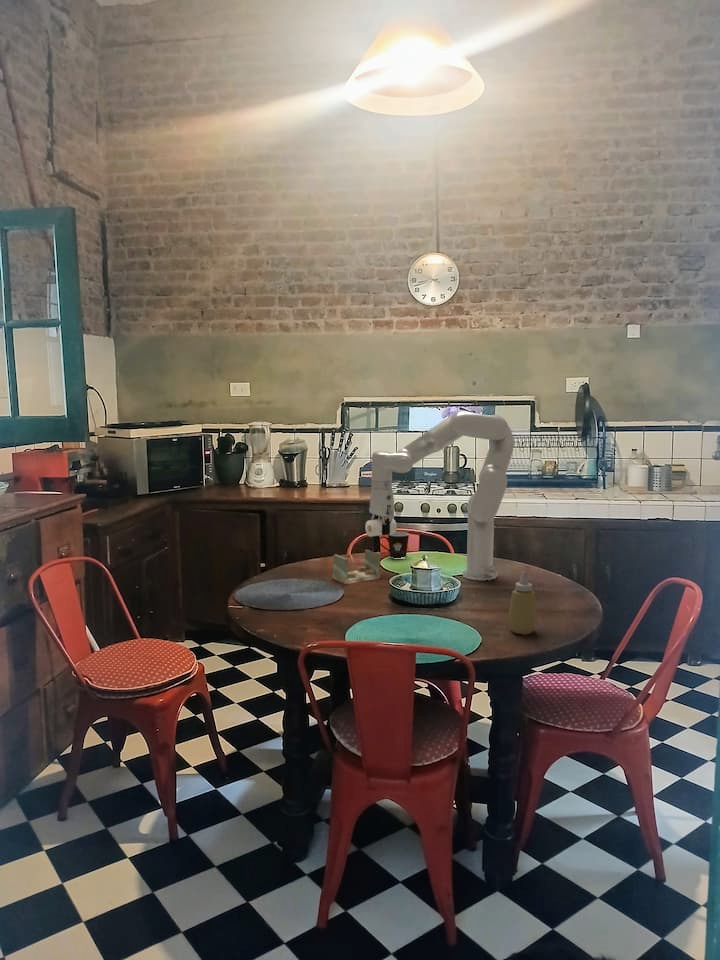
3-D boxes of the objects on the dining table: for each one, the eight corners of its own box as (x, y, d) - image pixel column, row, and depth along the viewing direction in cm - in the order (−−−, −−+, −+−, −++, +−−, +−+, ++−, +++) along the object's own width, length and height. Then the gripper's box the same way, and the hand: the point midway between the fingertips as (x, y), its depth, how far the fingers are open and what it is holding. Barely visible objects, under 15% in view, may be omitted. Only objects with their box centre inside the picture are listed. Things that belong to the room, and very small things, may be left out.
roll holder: (366, 572, 279) (367, 549, 278) (380, 578, 272) (380, 554, 271) (332, 578, 271) (332, 554, 270) (345, 584, 264) (345, 559, 263)
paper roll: (387, 532, 280) (387, 516, 280) (396, 534, 275) (396, 519, 275) (365, 535, 275) (365, 519, 274) (373, 537, 270) (374, 521, 269)
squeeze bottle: (532, 626, 221) (534, 568, 218) (539, 636, 213) (541, 575, 210) (505, 626, 221) (507, 568, 218) (511, 636, 213) (513, 575, 210)
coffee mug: (412, 557, 303) (412, 533, 302) (402, 561, 296) (402, 537, 294) (387, 553, 309) (388, 529, 308) (377, 557, 302) (377, 533, 301)
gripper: (403, 487, 267) (402, 536, 270) (377, 481, 282) (376, 527, 284) (386, 489, 263) (385, 538, 266) (360, 482, 278) (359, 529, 280)
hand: (380, 532), depth 275 cm, fingers closed on paper roll, 6 cm apart
